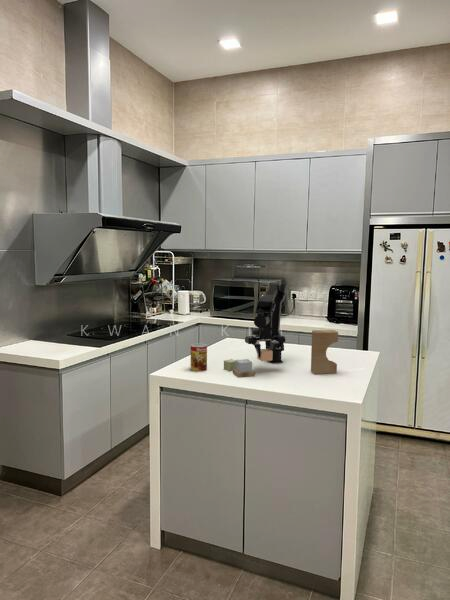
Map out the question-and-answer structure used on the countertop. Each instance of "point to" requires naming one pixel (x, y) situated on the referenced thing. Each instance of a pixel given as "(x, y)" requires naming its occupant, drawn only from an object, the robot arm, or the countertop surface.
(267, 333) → the robot arm
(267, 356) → the terracotta block
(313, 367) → the decorative block
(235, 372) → the walnut slab
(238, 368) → the grey block
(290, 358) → the countertop surface
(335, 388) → the countertop surface
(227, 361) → the olive block
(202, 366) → the canned food
